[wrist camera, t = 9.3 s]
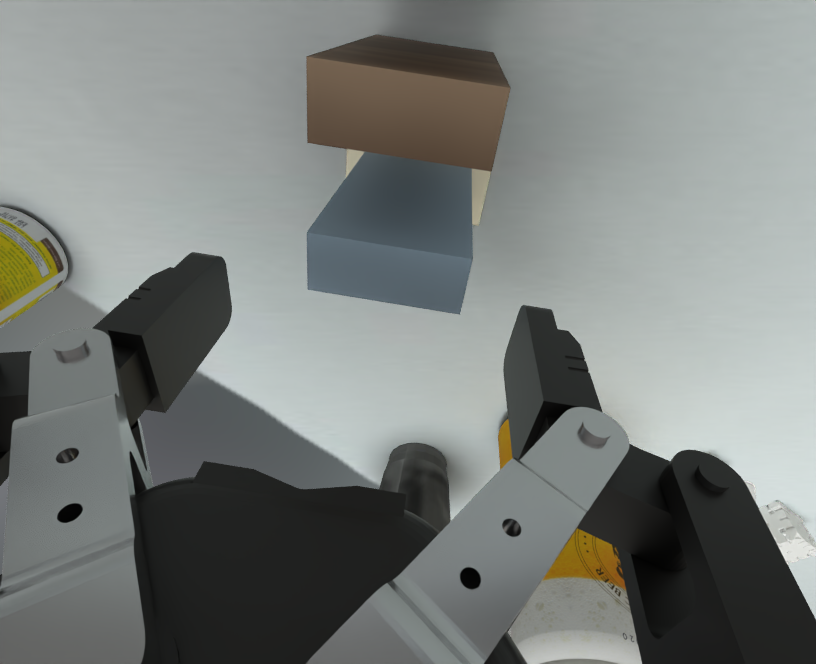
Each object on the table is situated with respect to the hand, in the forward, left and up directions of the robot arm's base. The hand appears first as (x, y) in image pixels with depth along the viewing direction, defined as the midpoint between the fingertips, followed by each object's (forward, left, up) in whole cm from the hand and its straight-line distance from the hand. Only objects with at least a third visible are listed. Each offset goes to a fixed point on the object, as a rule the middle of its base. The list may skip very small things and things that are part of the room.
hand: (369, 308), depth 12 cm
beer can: (+16, +11, -13) cm, 23 cm away
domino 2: (0, 0, -12) cm, 12 cm away
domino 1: (-4, 0, -12) cm, 13 cm away
